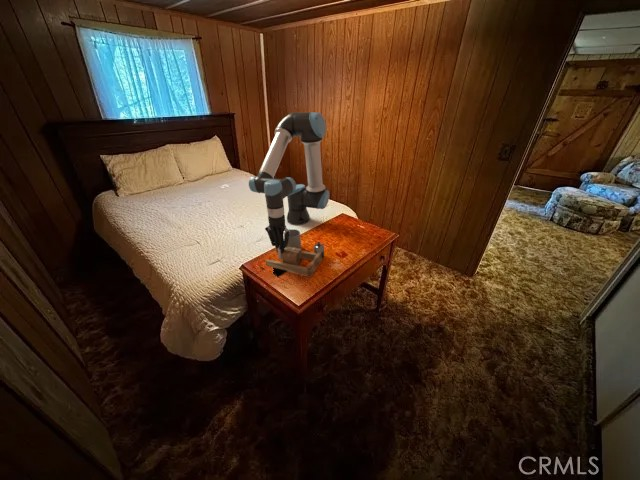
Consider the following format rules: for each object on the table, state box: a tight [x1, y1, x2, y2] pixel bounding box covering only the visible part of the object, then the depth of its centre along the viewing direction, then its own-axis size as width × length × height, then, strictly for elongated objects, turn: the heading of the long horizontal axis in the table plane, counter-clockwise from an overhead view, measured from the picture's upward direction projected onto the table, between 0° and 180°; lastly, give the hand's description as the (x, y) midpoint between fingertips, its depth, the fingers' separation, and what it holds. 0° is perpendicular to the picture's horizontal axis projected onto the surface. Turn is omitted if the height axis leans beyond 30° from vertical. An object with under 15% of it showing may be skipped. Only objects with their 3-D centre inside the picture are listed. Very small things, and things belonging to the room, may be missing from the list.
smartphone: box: [272, 268, 288, 278], centre depth 123 cm, size 7×1×15 cm
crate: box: [281, 247, 303, 266], centre depth 124 cm, size 7×7×7 cm
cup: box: [283, 229, 302, 250], centre depth 135 cm, size 8×8×10 cm
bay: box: [265, 248, 323, 278], centre depth 124 cm, size 14×24×5 cm, turn 69°
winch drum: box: [313, 241, 325, 259], centre depth 128 cm, size 5×5×8 cm
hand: (281, 258), depth 127 cm, fingers closed
